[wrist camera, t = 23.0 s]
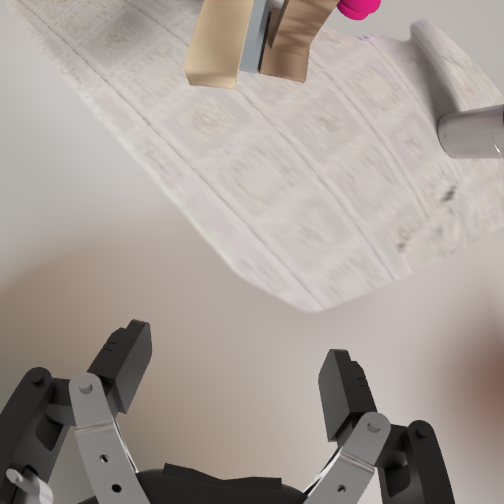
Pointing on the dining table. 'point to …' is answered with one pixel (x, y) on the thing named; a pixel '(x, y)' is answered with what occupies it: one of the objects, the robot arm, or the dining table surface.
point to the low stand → (254, 37)
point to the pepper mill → (358, 8)
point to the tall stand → (293, 37)
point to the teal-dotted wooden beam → (218, 43)
